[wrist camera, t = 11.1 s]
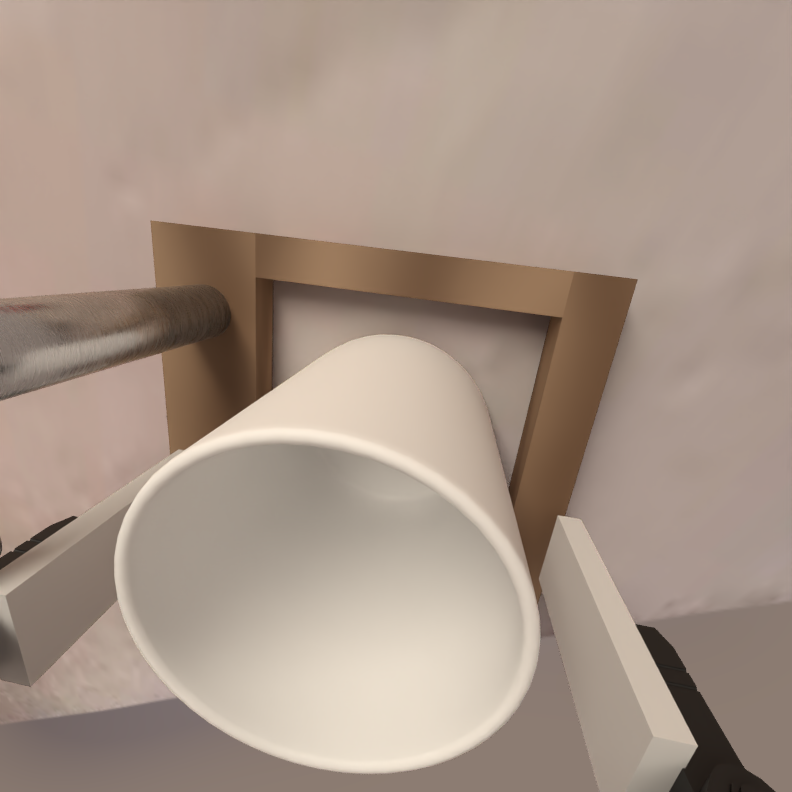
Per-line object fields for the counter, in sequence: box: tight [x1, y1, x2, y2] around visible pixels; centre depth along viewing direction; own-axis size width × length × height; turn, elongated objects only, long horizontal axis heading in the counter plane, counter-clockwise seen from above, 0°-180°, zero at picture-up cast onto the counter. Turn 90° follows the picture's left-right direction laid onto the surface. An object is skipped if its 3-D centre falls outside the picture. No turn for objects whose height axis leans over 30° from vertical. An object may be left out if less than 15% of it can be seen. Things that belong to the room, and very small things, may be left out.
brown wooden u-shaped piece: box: [151, 221, 638, 605], centre depth 16 cm, size 17×14×2 cm
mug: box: [114, 334, 541, 774], centre depth 13 cm, size 12×8×10 cm
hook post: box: [0, 284, 231, 555], centre depth 11 cm, size 2×6×10 cm, turn 173°
